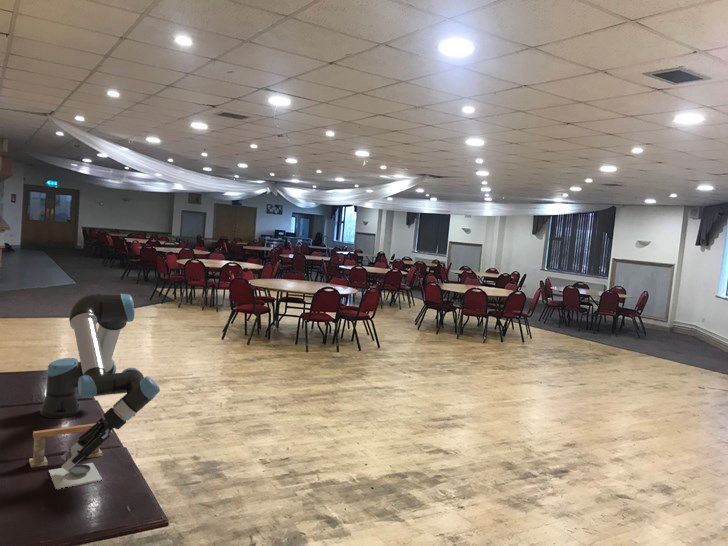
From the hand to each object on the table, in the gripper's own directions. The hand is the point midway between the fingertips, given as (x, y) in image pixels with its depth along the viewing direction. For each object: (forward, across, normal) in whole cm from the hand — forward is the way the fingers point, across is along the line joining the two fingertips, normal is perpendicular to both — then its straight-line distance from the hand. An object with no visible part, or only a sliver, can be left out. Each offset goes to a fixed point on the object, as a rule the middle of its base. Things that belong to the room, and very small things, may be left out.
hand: (64, 463), depth 187 cm
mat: (+1, 0, -6) cm, 6 cm away
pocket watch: (0, 0, -5) cm, 5 cm away
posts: (+3, +15, -4) cm, 16 cm away
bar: (-4, +15, +3) cm, 16 cm away
